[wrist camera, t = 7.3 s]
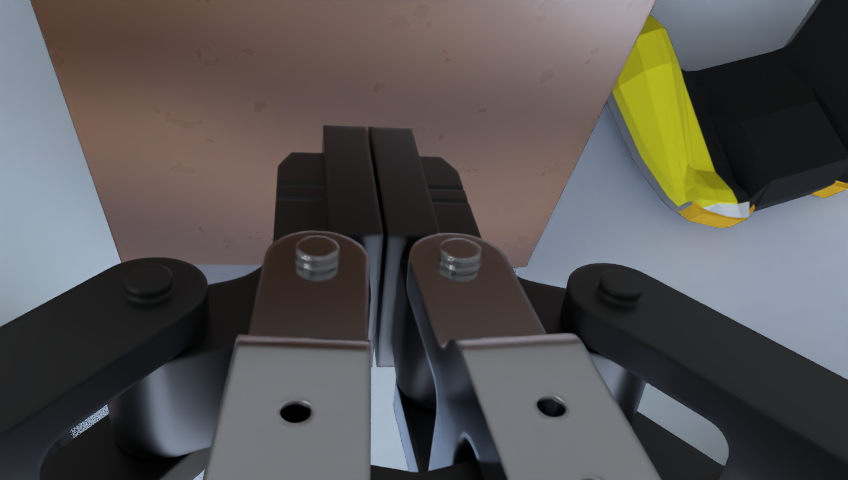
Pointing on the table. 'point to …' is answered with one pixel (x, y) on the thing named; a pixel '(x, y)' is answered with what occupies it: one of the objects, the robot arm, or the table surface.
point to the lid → (326, 104)
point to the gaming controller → (739, 121)
